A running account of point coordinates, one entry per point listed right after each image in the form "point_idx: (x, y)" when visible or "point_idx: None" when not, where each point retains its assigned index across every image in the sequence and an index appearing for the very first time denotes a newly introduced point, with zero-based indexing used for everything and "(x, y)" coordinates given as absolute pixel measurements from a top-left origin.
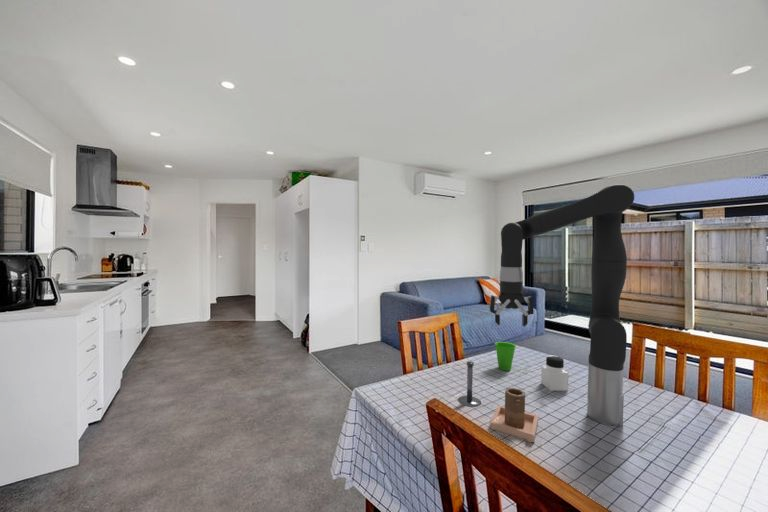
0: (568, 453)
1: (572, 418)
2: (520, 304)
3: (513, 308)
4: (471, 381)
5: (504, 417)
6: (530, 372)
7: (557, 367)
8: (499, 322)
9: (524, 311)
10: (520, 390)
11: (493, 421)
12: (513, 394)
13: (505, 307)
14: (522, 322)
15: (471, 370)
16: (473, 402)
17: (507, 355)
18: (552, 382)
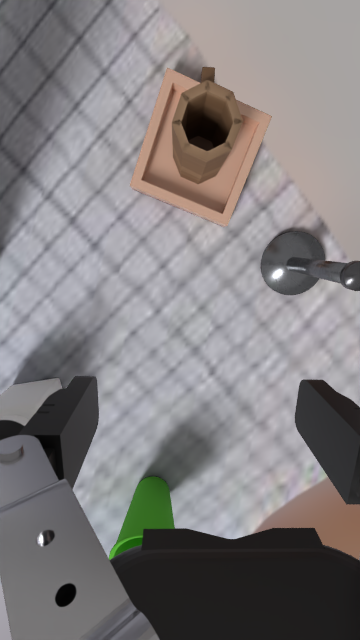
0: (94, 51)
1: (39, 233)
2: (23, 625)
3: (197, 532)
4: (318, 261)
5: (217, 185)
6: (86, 478)
7: (4, 421)
8: (316, 388)
9: (15, 483)
10: (184, 139)
11: (262, 122)
12: (219, 93)
13: (346, 555)
14: (90, 425)
15: (339, 264)
16: (283, 258)
17: (145, 512)
18: (43, 389)
